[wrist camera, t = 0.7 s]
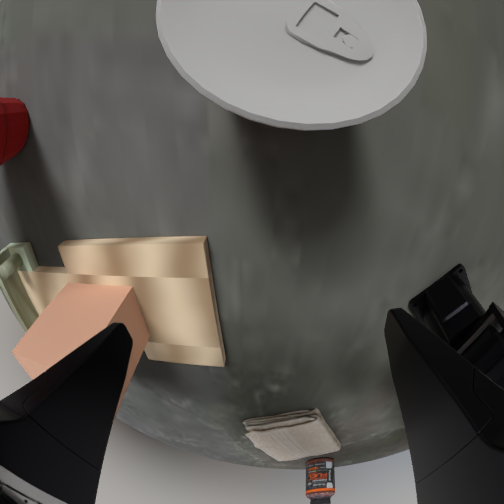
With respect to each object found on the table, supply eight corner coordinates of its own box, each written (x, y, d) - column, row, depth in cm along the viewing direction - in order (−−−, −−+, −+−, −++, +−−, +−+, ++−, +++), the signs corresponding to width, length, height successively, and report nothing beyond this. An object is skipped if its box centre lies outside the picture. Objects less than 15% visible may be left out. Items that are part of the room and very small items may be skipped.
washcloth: (316, 401, 32) (318, 421, 29) (342, 440, 39) (344, 454, 37) (237, 416, 35) (235, 434, 33) (282, 451, 43) (282, 465, 40)
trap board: (206, 235, 21) (192, 265, 17) (225, 357, 28) (220, 390, 24) (10, 243, 23) (-12, 261, 19) (52, 332, 30) (37, 353, 26)
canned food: (325, 135, 17) (391, 173, 7) (207, 101, 16) (122, 99, 6) (357, 37, 13) (443, -21, 3) (238, 2, 12) (199, -91, 3)
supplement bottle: (326, 454, 43) (329, 502, 33) (337, 460, 45) (340, 503, 35) (300, 460, 45) (300, 506, 35) (313, 465, 47) (313, 508, 37)
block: (132, 286, 22) (77, 376, 14) (150, 335, 25) (113, 420, 16) (67, 282, 23) (11, 352, 14) (88, 327, 26) (46, 396, 17)
